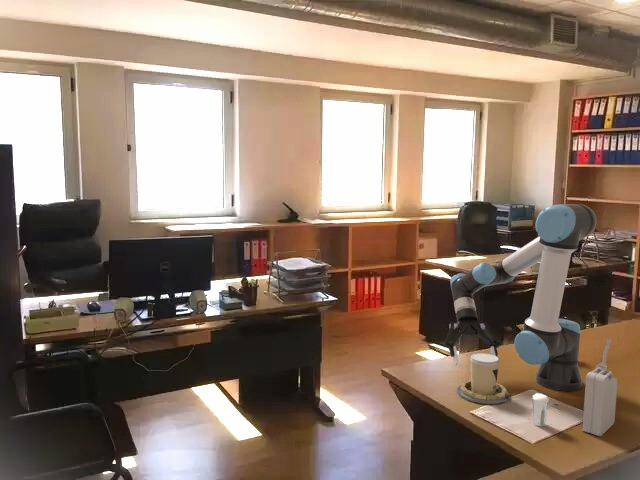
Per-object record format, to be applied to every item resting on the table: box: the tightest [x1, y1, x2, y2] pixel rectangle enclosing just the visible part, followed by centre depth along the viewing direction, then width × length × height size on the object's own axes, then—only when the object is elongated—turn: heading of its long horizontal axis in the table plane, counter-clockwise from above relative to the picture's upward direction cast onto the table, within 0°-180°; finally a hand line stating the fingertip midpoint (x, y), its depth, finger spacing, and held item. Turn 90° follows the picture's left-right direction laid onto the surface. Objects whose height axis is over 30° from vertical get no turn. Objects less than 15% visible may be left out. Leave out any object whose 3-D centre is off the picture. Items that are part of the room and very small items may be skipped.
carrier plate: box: [456, 379, 511, 406], centre depth 184 cm, size 17×17×2 cm
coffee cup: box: [469, 352, 500, 395], centre depth 184 cm, size 9×9×12 cm
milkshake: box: [530, 392, 550, 427], centre depth 162 cm, size 4×5×10 cm
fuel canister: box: [582, 337, 618, 437], centre depth 161 cm, size 15×5×25 cm, turn 135°
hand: (476, 364), depth 192 cm, fingers open, 13 cm apart
